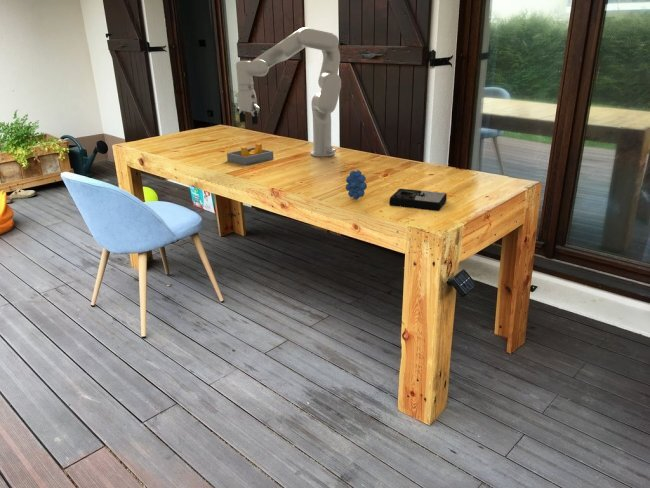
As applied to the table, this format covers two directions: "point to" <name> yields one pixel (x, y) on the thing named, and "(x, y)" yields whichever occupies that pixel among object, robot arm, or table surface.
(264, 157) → the tray
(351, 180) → the grapes
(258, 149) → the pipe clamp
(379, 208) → the table surface
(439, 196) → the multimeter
